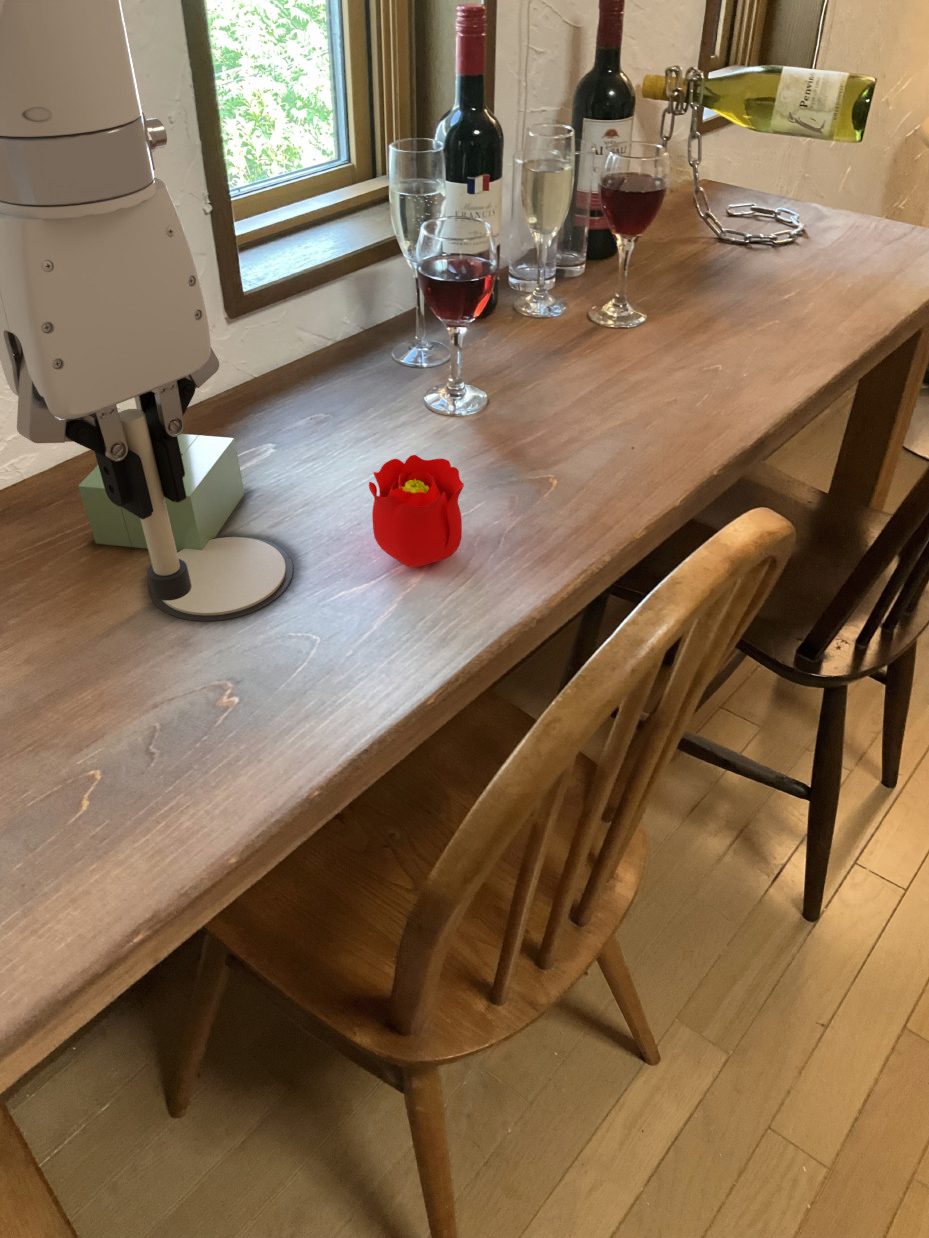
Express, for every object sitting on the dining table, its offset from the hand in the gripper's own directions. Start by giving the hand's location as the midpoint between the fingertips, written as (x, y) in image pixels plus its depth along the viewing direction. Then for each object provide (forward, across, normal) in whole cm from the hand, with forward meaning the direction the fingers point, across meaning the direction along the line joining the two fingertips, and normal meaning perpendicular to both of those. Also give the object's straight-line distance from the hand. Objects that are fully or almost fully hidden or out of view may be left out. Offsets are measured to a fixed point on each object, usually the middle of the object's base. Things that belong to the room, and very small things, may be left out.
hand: (150, 499), depth 56 cm
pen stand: (+18, -15, -24) cm, 34 cm away
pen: (+7, 0, 0) cm, 7 cm away
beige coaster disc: (+18, -12, -13) cm, 25 cm away
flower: (+18, -25, -2) cm, 31 cm away
